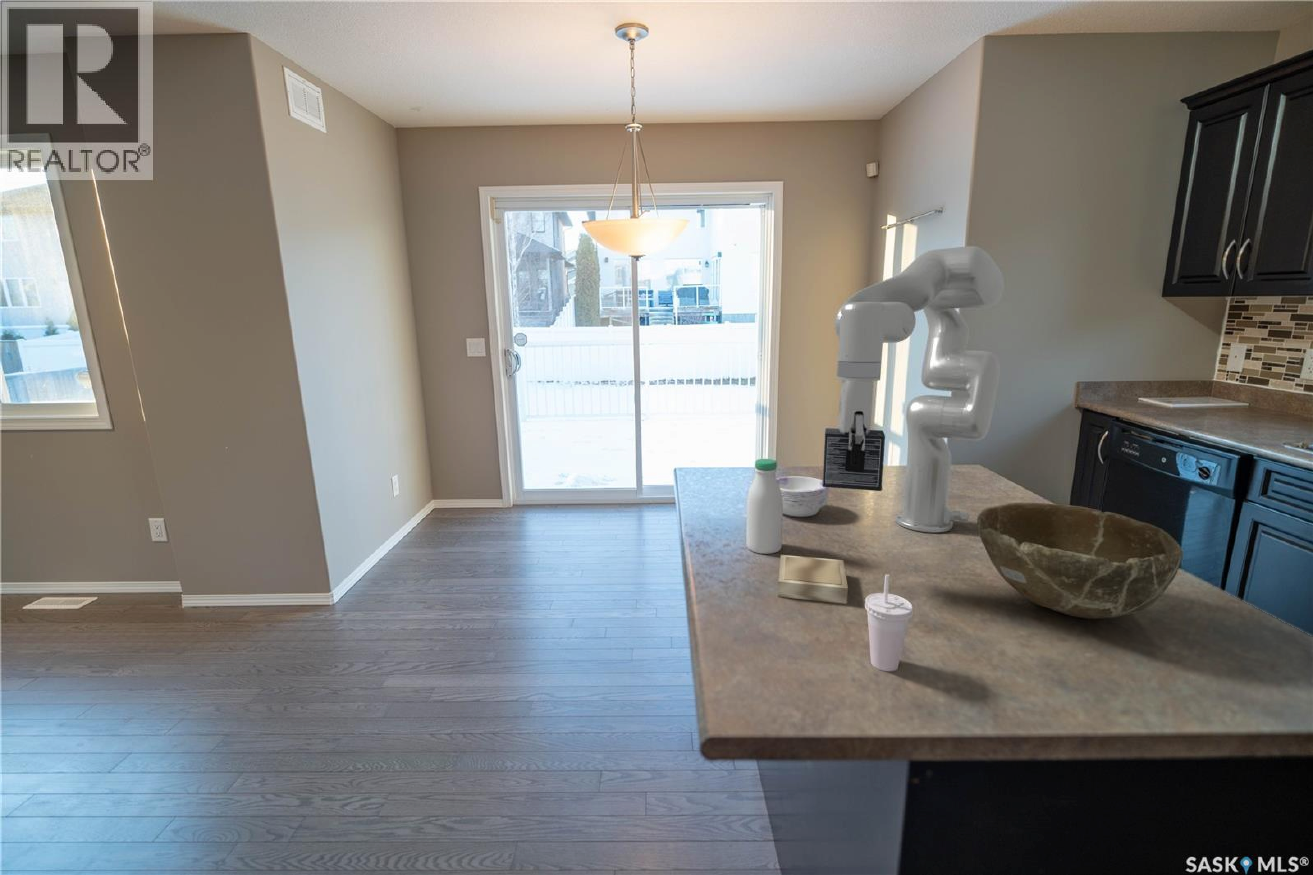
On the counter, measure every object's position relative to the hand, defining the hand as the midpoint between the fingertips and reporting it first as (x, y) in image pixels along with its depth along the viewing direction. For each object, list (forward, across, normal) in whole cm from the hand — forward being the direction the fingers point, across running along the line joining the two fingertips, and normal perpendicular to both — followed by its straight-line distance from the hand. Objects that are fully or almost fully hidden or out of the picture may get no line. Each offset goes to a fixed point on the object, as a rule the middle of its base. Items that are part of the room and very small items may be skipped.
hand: (852, 465), depth 104 cm
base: (+23, +5, -6) cm, 24 cm away
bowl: (+22, +4, +36) cm, 42 cm away
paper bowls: (+22, -37, -9) cm, 44 cm away
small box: (+4, 0, 0) cm, 4 cm away
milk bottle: (+23, -11, -16) cm, 30 cm away
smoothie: (+23, +28, +3) cm, 37 cm away
